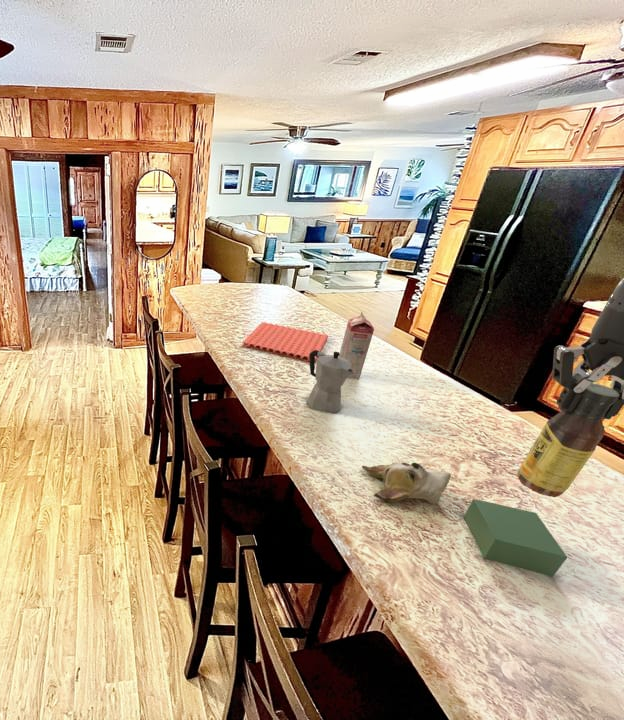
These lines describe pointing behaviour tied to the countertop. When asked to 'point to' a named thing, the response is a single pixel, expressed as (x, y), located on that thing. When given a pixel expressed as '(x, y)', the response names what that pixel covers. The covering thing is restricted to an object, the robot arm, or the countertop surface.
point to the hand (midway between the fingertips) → (583, 412)
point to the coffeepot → (328, 380)
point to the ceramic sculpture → (409, 482)
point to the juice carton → (356, 343)
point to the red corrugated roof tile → (285, 341)
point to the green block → (514, 537)
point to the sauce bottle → (567, 443)
